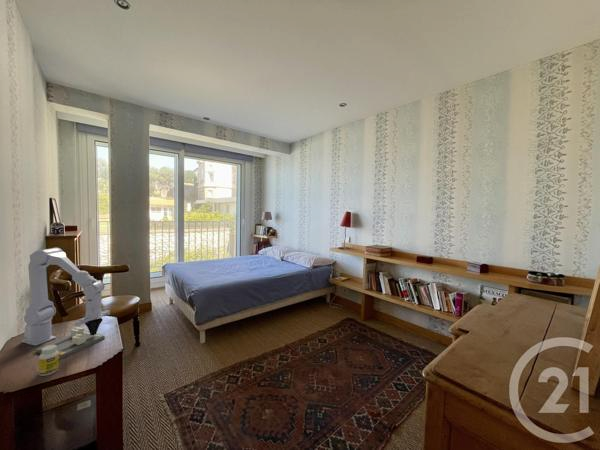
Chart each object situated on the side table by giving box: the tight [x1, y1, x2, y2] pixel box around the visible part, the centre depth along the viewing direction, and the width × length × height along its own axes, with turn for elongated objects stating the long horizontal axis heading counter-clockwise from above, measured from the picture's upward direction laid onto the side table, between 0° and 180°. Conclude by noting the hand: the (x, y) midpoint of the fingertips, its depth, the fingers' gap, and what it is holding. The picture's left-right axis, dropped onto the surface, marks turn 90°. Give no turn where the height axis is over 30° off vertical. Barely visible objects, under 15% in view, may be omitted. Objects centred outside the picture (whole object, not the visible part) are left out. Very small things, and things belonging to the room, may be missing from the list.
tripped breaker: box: [72, 334, 86, 345], centre depth 113 cm, size 4×3×3 cm
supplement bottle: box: [38, 345, 60, 377], centre depth 95 cm, size 5×5×10 cm
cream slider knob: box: [69, 326, 85, 336], centre depth 119 cm, size 4×3×3 cm
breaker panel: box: [35, 330, 105, 360], centre depth 114 cm, size 15×18×2 cm
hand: (93, 334), depth 119 cm, fingers closed
